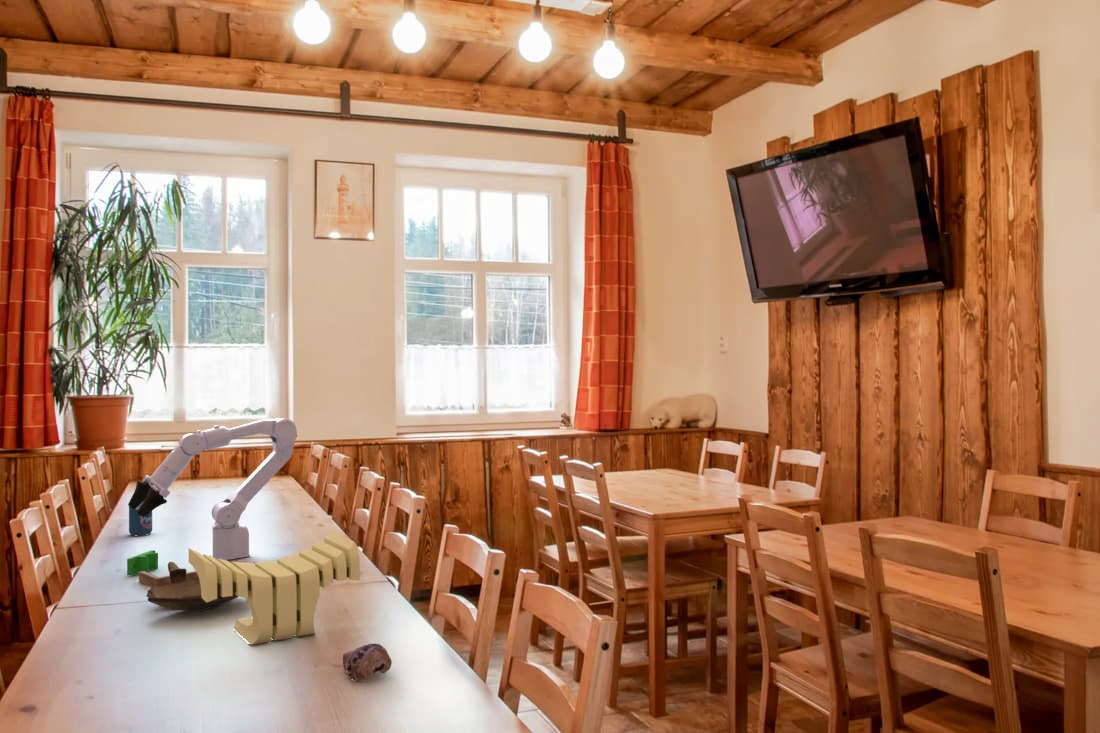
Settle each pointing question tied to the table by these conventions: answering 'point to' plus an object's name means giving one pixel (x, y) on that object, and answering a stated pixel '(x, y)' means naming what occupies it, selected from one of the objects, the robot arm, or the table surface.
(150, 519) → the soda can
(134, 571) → the pipe clamp
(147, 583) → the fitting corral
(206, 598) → the slatted curved stool
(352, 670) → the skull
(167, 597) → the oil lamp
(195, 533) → the table surface
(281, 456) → the robot arm
